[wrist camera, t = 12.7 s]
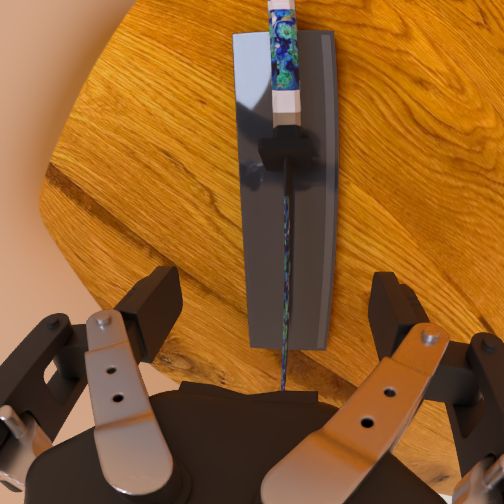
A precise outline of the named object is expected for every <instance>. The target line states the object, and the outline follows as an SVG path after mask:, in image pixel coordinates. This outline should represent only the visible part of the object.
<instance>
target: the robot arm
mask: <svg viewBox="0 0 504 504" xmlns="http://www.w3.org/2000/svg"><path fill="white" fill-rule="evenodd" d="M182 306H183V299H182V293H181V287H180V281H179V274H178V270H177V268H176V267H175V266H157V267H156V269H155V270H154V271H153V272H152V273H151V274H150V275H149V276H147V277H145V278H143V279H142V280H140V281H138V282H137V283H136V284H135V285H134V286H133V287H132V290H130V291H129V292H128V293H127V295H125V296H124V297H123V299H122V300H121V301H120V302H119V303H118V304H117V305H116V306H115V308H114V309H113V310H112V309H108V310H102V311H99V312H97V313H95V314H93V315H92V316H90V317H89V318H88V320H87V322H86V324H78V325H71V323H70V320H69V317H68V316H67V315H66V314H63V313H56V314H52V315H50V316H47V317H46V318H44V319H43V320H42V321H41V322H40V323H39V324H38V325H37V326H36V327H35V328H34V329H33V330H32V331H31V332H30V333H29V334H28V335H27V337H26V338H25V339H24V340H23V341H22V342H21V343H20V344H19V345H18V346H17V348H16V349H15V350H14V351H13V352H12V353H11V354H10V355H9V357H8V358H7V359H6V360H5V361H4V362H3V364H2V365H1V366H0V482H1V483H2V484H3V485H5V486H6V487H7V488H8V489H9V490H11V491H13V492H22V491H24V492H25V499H24V504H447V503H446V501H445V500H444V499H443V498H442V497H441V496H440V495H439V494H437V493H436V492H435V491H434V490H433V489H431V488H430V487H429V486H428V485H427V484H426V483H424V482H423V481H422V480H421V479H420V478H419V477H418V476H416V475H415V474H414V473H413V472H412V471H411V470H410V469H408V468H407V467H406V466H405V465H404V464H403V463H402V462H401V461H399V460H398V459H397V458H396V457H395V456H394V455H393V454H392V453H393V451H394V450H395V448H396V447H397V445H398V443H399V442H400V440H401V438H402V437H403V435H404V434H405V432H406V430H407V429H408V427H409V425H410V424H411V422H412V421H413V419H414V417H415V415H416V414H417V412H418V410H419V409H420V407H421V405H422V403H423V401H424V399H425V400H431V401H437V402H444V403H445V406H446V409H447V413H448V417H449V421H450V425H451V429H452V433H453V437H454V442H455V446H456V451H457V456H458V461H459V466H460V471H461V477H462V479H461V480H460V481H459V482H458V483H457V485H456V486H455V488H454V490H453V494H452V504H504V343H503V341H502V340H501V339H500V338H498V337H497V336H495V335H493V334H490V333H485V332H481V333H477V334H475V335H474V336H473V337H472V339H471V342H470V344H466V343H459V342H454V341H450V340H449V335H448V333H447V332H446V331H445V330H444V329H443V328H442V327H440V326H438V325H435V324H432V323H431V322H430V321H429V319H428V317H427V315H426V313H425V311H424V309H423V307H422V306H421V304H420V302H419V300H417V296H416V294H415V293H414V291H413V290H412V289H411V288H409V287H408V286H407V285H406V284H399V282H398V280H397V278H396V276H395V274H394V272H375V273H374V276H373V282H372V288H371V295H370V301H369V308H368V318H369V323H370V327H371V330H372V334H373V338H374V342H375V346H376V350H377V354H378V358H379V362H380V363H379V364H378V365H377V366H376V368H375V369H374V370H373V371H372V372H371V374H370V375H369V376H368V377H367V378H366V380H365V381H364V382H363V383H362V384H361V386H360V387H359V388H358V389H357V390H356V391H355V393H354V394H353V395H352V396H351V397H350V398H349V399H348V400H347V402H346V403H345V404H344V405H343V406H342V407H341V408H340V409H339V408H337V407H335V406H332V405H330V404H326V403H323V402H319V401H318V391H285V390H283V391H276V392H268V393H260V394H252V395H245V394H241V393H238V392H235V391H231V390H228V389H225V388H222V387H219V386H216V385H211V384H203V383H195V382H188V381H182V383H181V385H180V387H179V390H172V391H166V392H162V393H158V394H156V395H152V396H150V397H149V395H148V392H147V390H146V387H145V384H144V381H143V379H142V376H141V373H140V370H139V368H138V365H139V363H140V362H145V363H151V364H152V362H153V361H154V359H155V357H156V355H157V354H158V352H159V350H160V348H161V347H162V345H163V343H164V341H165V340H166V338H167V336H168V334H169V333H170V331H171V329H172V327H173V326H174V324H175V322H176V320H177V319H178V317H179V315H180V314H181V311H182ZM52 360H53V362H54V364H55V365H56V367H57V371H56V372H55V374H54V375H53V376H52V378H51V379H50V381H49V382H48V383H47V385H46V383H45V381H44V371H45V369H46V368H47V366H48V365H49V364H50V362H51V361H52ZM87 384H88V386H89V392H90V398H91V404H92V410H93V415H94V421H95V426H94V427H92V428H90V429H88V430H86V431H84V432H82V433H80V434H78V435H76V436H74V437H72V438H70V439H68V440H66V441H64V442H62V443H60V444H58V445H56V446H54V447H53V446H52V443H53V441H54V440H55V438H56V436H57V434H58V432H59V431H60V429H61V427H62V426H63V424H64V422H65V420H66V419H67V417H68V415H69V414H70V412H71V410H72V408H73V407H74V405H75V403H76V402H77V400H78V398H79V397H80V395H81V394H82V392H83V390H84V389H85V387H86V385H87ZM482 396H483V397H482ZM483 399H484V400H483Z"/></svg>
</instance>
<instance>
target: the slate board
mask: <svg viewBox="0 0 504 504" xmlns="http://www.w3.org/2000/svg"><path fill="white" fill-rule="evenodd" d="M232 42H233V63H234V83H235V103H236V122H237V141H238V159H239V177H240V194H241V212H242V228H243V245H244V261H245V278H246V293H247V309H248V324H249V340H250V347H251V348H266V349H282V348H283V317H284V171H267V170H266V169H265V166H264V164H263V162H262V159H261V157H260V155H259V152H258V140H259V139H261V138H273V106H272V86H271V81H272V74H271V52H270V31H261V32H247V33H237V34H232ZM297 46H298V64H299V80H300V88H301V91H300V100H301V111H300V114H301V138H310V139H312V140H313V156H312V168H311V171H293V246H292V275H291V298H290V318H289V336H288V350H321V351H326V350H327V342H328V333H329V324H330V315H331V305H332V294H333V283H334V270H335V256H336V239H337V219H338V190H339V113H338V85H337V66H336V51H335V38H334V31H328V30H298V32H297Z"/></svg>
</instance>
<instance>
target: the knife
mask: <svg viewBox="0 0 504 504" xmlns="http://www.w3.org/2000/svg"><path fill="white" fill-rule="evenodd" d="M295 12H296V8H295V5H294V0H268V13H269V21H268V23H269V31H270V52H271V74H272V81H271V86H272V106H273V138H261V139H259V140H258V152H259V155H260V157H261V159H262V162H263V164H264V166H265V169H266V170H267V171H284V317H283V348H282V379H281V391H283V390H285V383H286V369H287V352H288V336H289V318H290V298H291V275H292V246H293V171H311V168H312V156H313V140H312V139H310V138H301V114H300V111H301V100H300V91H301V88H300V80H299V64H298V46H297V32H298V30H297V27H296V25H297V21H296V18H297V16H296V13H295Z"/></svg>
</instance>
